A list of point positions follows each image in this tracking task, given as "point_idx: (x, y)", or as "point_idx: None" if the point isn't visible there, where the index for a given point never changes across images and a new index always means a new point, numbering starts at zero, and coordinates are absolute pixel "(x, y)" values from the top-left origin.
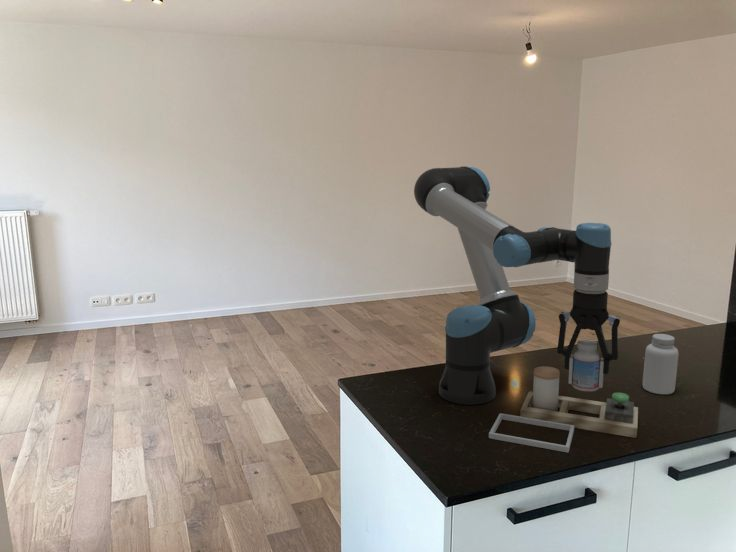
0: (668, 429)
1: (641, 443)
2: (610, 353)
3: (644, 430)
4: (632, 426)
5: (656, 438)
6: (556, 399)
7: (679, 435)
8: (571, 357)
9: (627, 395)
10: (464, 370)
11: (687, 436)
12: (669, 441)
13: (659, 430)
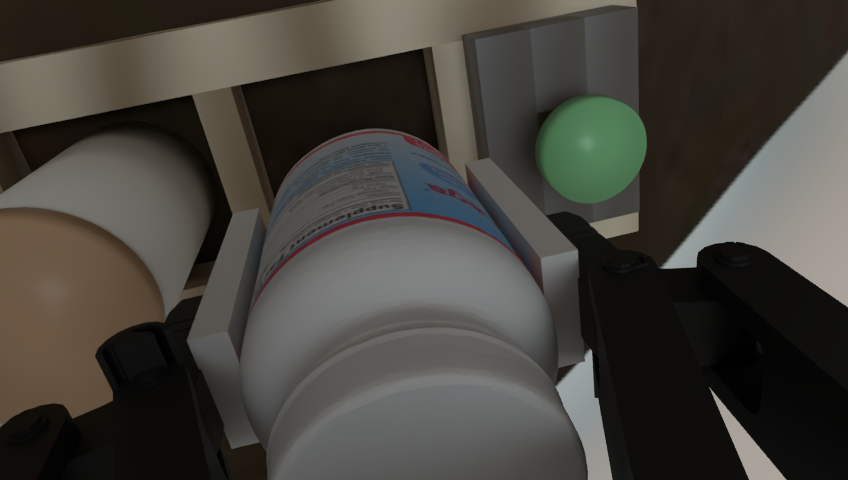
0: (748, 32)
1: (633, 246)
2: (687, 306)
3: (643, 111)
4: (616, 224)
5: (691, 165)
6: (198, 243)
7: (787, 74)
8: (240, 422)
9: (637, 126)
10: None
11: (818, 64)
12: (739, 162)
13: (708, 70)
